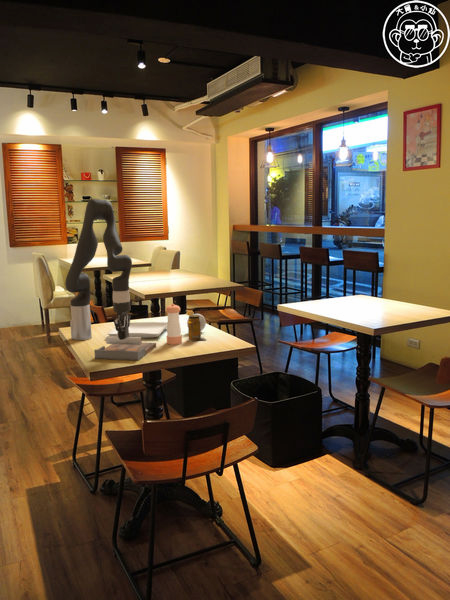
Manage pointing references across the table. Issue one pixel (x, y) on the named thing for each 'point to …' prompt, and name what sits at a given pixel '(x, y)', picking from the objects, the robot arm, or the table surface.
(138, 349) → the tile right
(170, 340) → the pepper shaker
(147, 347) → the board
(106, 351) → the box
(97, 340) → the table surface
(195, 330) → the condiment
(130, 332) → the square plate
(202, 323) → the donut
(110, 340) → the gray bar with block
